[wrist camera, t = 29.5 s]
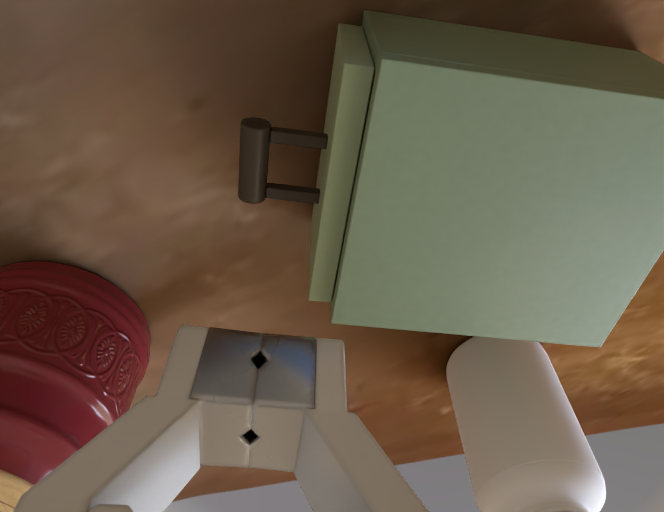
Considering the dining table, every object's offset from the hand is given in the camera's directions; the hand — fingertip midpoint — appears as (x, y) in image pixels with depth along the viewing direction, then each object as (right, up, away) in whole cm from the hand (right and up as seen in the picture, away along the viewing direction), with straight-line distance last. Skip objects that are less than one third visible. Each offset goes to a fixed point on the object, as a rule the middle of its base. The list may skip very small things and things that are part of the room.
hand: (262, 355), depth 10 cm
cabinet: (+9, +8, +20) cm, 23 cm away
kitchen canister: (-18, -3, +28) cm, 34 cm away
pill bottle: (+14, -7, +31) cm, 35 cm away
